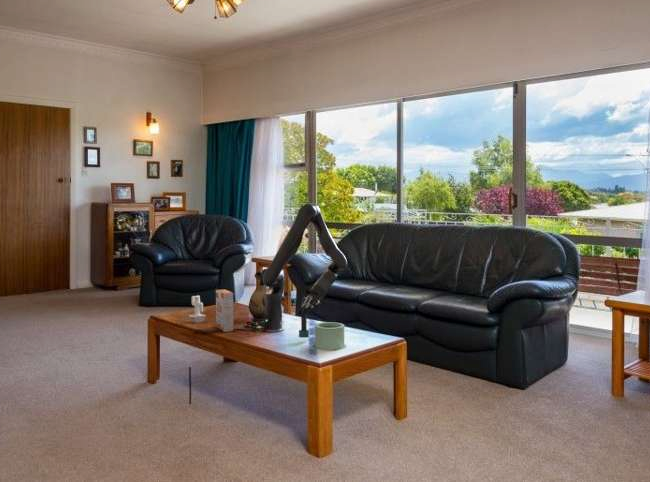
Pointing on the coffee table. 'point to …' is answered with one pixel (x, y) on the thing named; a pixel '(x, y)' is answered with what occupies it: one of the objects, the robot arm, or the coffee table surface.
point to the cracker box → (224, 310)
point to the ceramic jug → (258, 299)
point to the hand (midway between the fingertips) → (300, 315)
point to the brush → (303, 325)
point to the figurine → (197, 310)
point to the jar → (329, 335)
